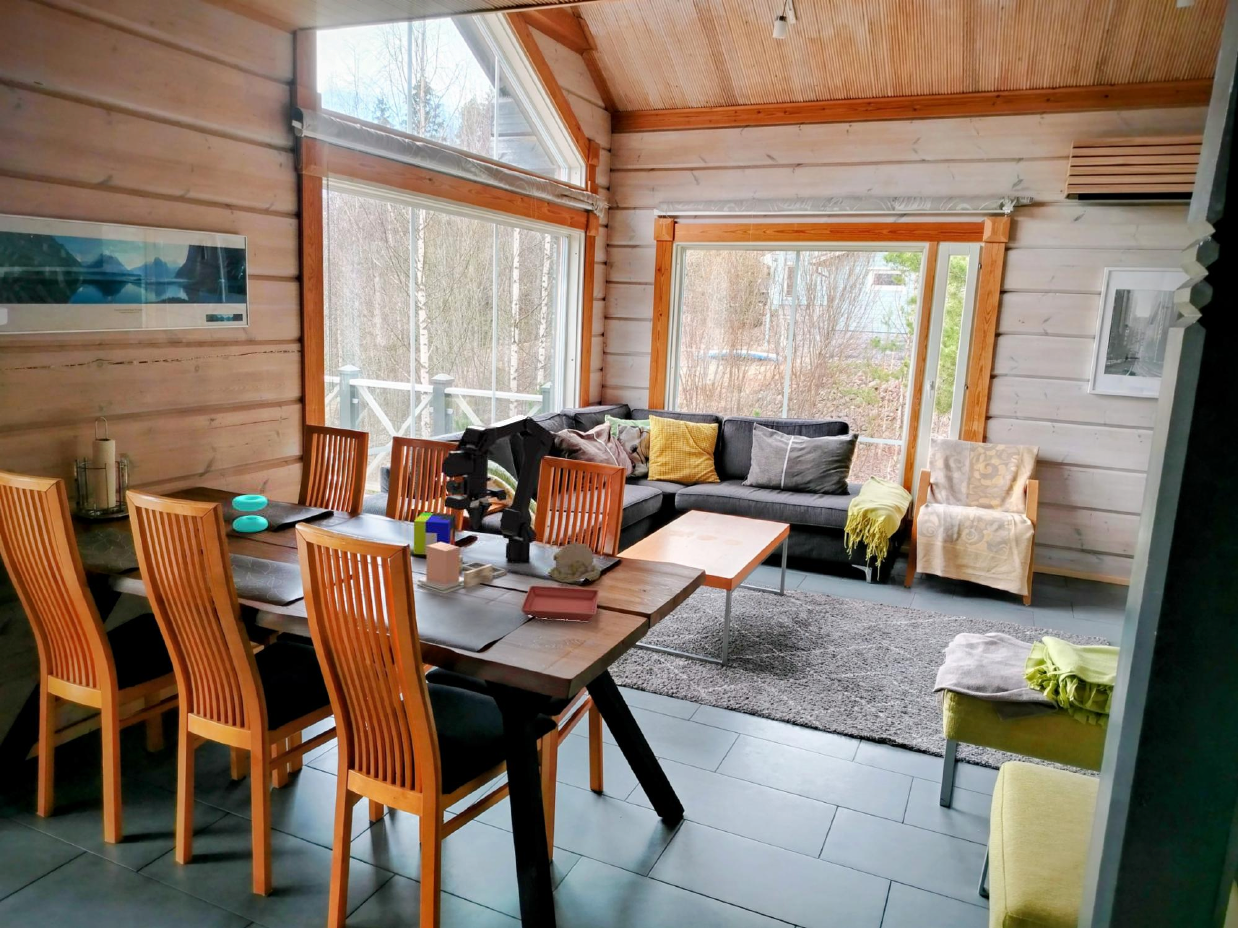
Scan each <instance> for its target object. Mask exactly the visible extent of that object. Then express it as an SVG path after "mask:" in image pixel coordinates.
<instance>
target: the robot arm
mask: <svg viewBox="0 0 1238 928" xmlns="http://www.w3.org/2000/svg"><path fill="white" fill-rule="evenodd" d="M516 434H517V435H518V436H519V437H520V438H521V439H522V441H521V448H522V452H523V455H524V456H523V461H522V465H521V469H520V472H519V476H518V479H517V484H516V488H515V490H514V491H515V492H514V496H513V499H512V503H511V505H509V506H508V508H507V507H506V508H503V510H502V511H501V517H500V520H499V522H500V524H499V525H500V526H499V528H500V530H501V534H502V539H503V538H504V539H507V540H508V541H507V542H506V543H505V559H506V562H507V563H512V562H519V563H518V564H521V563H520V562H525V564H529V562H530V563H531V561H530V559H531V556H530V553H531V552H530V551H531V550H530V548H531V544H532V543H533V542H535V541H536V540H537V535H538V534H537V532H536V531H535V530H534V528H533V527H532V526H531V525H532V515H531V512H530V505H531V503H532V502H531V501H532V496H533V493H534V490H535V485H536V482H537V477H538V473H539V470H540V467H541V466H540V465H541V463H542V461H543V459H544V458H545V457H546V456H547V455H548V454H549V452H550V450H551V448H552V445H553V440H554V436H552V432H551V431H550V430H547V429H546V428H545V427H544V426H542V425H541V424H539V423H538V422H537V421H535V420H534V418H532V417H531V416H527V415H522V414H518V415H516V416H514V417H511V418H508V419H505V420H502V421H498V422H495V423H492V424H488V425H487V424H485V425H483V424H482V425H481V424H476V425H474V424H473V425H468V426H467V427H466V428H465V430H464V432H463V434H462V436H461V438H460V439H459V441H458V443H457V445H456V447H455V449H454V451H452V450H451V451H448V452H447V456H446V457H445V458H444V459H443V462H442V464H441V467H442V468H441V469H442V471H443V473H444V475H445V476H446V477H447V478H449V479H450V480H447V481H446V483H445V490H446V492H447V493H448V494H450V495H448V496H446V498H444V507H445V508H449V509H452V510H457V511H463V510H465V511H466V512H467V514H468V518H469V520H470V523H471V526H472V529H474V530H478V529H479V527H480V526H481V524H482V521H484V518H485V516H486V515H487V513H488V511H489V509H490V508H491V506H493V503H491V502H490V501H489V499H494V498H496V499H497V500H498V501H499V502H501V501H506V500H507V492H506V490H505V489H504V488H499V487H495V486H489V487H488V482H491V480H492V477H491V476H489V473H488V471H489V457H491V456H494V455H495V453H494V451H492V450H491V448H492V447H494V446H495V445H496V444H497V442H498V441H499V440H501V439H504V438H508V437H510V436H513V435H516ZM459 477H461V481H457V482H456V480H455V479H454V478H459ZM526 562H527V563H526Z"/></svg>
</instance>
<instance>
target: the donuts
mask: <svg viewBox="0 0 1238 928" xmlns="http://www.w3.org/2000/svg"><path fill="white" fill-rule="evenodd" d="M231 504H232V506H233V508H235V510H239V511H241V512H256V511H260V510H261V509H265V507H266V506H267V505H268V499H267V498H266V497H265V496H264V495H259V494H258V495H256V494H245V495H240V496H236V497H234V498H233V500H232V502H231ZM268 525H269V523H268V520H267V519H266V518H265V517H262V516H259V515H244V516H240V517H238V518H236V519H235V520H234V521H233V522H232V527H233V529H234V530H235V531H237V532H239V533H241V532H242V533H256V532H261V531H265V529H266V528H268Z"/></svg>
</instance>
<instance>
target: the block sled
mask: <svg viewBox="0 0 1238 928" xmlns="http://www.w3.org/2000/svg"><path fill="white" fill-rule="evenodd" d="M460 553H461V547H459V546H456V545H455V546H454V545H450V544H447V543H443V542H438V543H435V544H431V545H427V554H426V569H425V570H426V571H425V572H426V573H425V575H426V576H424V577H421V578H418V579H417V583H422V584H425V585H428V586H431V587H434V588H437V589H440V590H445V589H448V588H451V587H454V586H457V585H464V577H461V576H460V571H459V561H460V556H461V555H460Z"/></svg>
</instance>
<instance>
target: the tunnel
mask: <svg viewBox="0 0 1238 928" xmlns="http://www.w3.org/2000/svg"><path fill="white" fill-rule="evenodd" d="M463 558H464V557H463V555H460V561H459V572H460V571H462V566H463V565H464V563H463ZM493 566H494V565H493V564H491V563H490V564H488V565H486V566H483V567H480V568H477V569H474V570H470V571H465V572H464V573H463V578H464V583H463V585H464V587H463V588H466V589H468V588H471V587H473V586H476V585H479V584H482V583H484V582H488V581H491V580H493V579H492V575H493Z"/></svg>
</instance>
